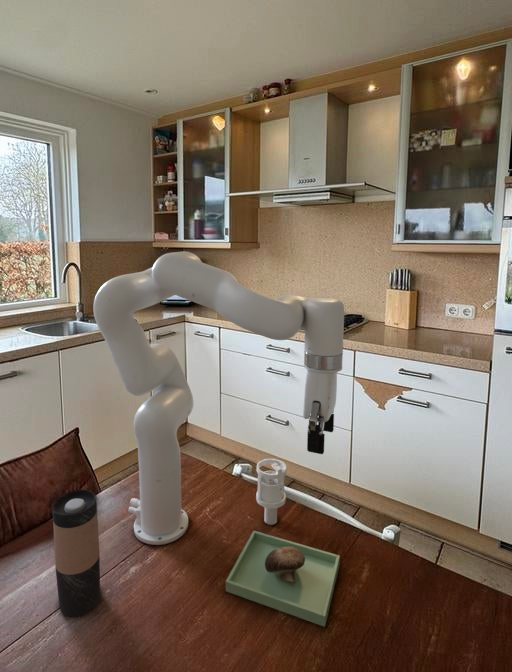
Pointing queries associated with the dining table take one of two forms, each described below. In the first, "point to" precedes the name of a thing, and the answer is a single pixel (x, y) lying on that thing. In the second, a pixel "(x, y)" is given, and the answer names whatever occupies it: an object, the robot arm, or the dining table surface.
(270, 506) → the white open cylindrical frame
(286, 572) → the mushroom
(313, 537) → the dining table surface
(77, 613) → the travel mug
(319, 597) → the tray
